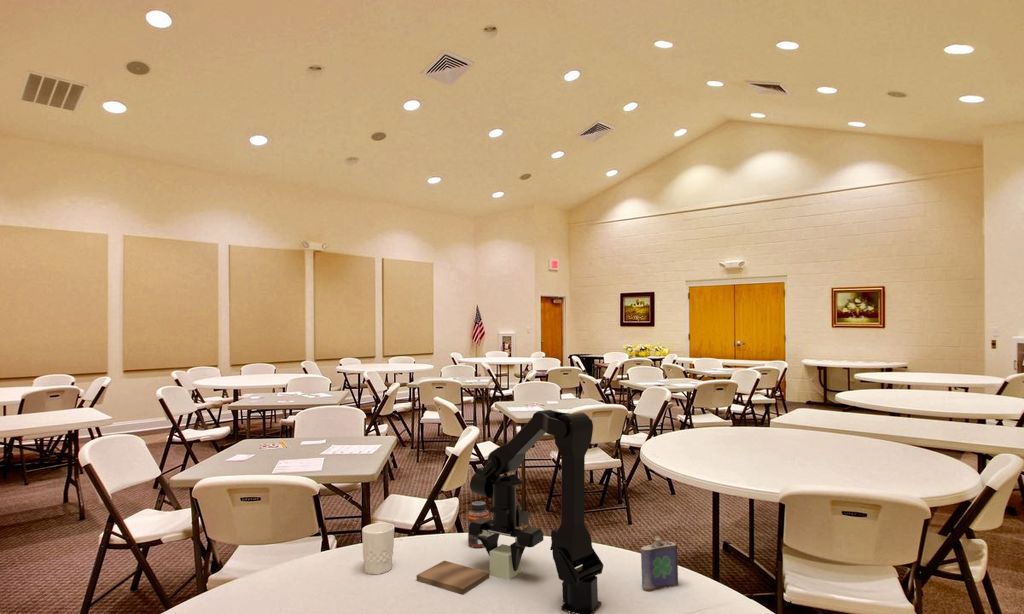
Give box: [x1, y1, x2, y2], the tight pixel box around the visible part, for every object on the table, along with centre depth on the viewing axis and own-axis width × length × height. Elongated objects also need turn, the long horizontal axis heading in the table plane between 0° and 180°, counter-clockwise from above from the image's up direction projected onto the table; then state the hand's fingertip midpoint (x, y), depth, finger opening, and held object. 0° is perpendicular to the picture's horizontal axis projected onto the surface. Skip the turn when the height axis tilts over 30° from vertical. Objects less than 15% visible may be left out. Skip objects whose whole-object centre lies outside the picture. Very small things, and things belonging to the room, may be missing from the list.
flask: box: [640, 535, 679, 592], centre depth 117 cm, size 9×3×11 cm, turn 109°
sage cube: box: [489, 543, 522, 581], centre depth 125 cm, size 6×6×6 cm
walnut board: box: [416, 560, 490, 595], centre depth 122 cm, size 14×10×1 cm
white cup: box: [361, 522, 395, 575], centre depth 129 cm, size 8×8×10 cm
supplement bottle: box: [467, 500, 490, 549], centre depth 144 cm, size 6×6×11 cm
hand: (505, 568), depth 125 cm, fingers closed on sage cube, 5 cm apart
